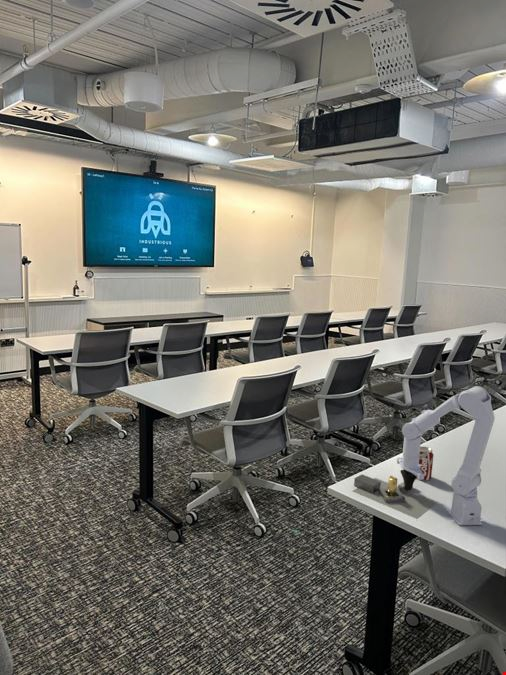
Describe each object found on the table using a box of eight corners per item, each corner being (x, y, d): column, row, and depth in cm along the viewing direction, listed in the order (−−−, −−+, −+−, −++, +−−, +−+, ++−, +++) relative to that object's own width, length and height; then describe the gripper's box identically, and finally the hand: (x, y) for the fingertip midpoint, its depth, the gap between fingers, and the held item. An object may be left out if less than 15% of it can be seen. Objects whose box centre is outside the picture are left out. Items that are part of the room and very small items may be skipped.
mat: (438, 503, 171) (438, 502, 171) (416, 520, 160) (417, 518, 160) (375, 478, 188) (375, 477, 188) (352, 492, 177) (352, 491, 177)
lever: (414, 487, 181) (414, 479, 181) (402, 493, 176) (403, 485, 176) (408, 484, 183) (408, 476, 182) (397, 490, 178) (397, 482, 177)
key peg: (397, 500, 171) (399, 482, 170) (389, 500, 171) (390, 481, 170) (393, 494, 176) (395, 475, 175) (385, 493, 176) (387, 475, 175)
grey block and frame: (404, 502, 170) (405, 494, 170) (364, 502, 169) (364, 494, 169) (389, 481, 186) (389, 474, 185) (351, 481, 184) (352, 474, 184)
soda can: (409, 475, 193) (411, 446, 190) (423, 473, 195) (425, 445, 193) (420, 483, 186) (423, 453, 184) (434, 480, 189) (437, 451, 187)
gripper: (433, 461, 169) (429, 498, 171) (409, 445, 182) (406, 479, 185) (415, 463, 167) (411, 500, 169) (392, 447, 181) (390, 481, 183)
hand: (407, 489), depth 177 cm, fingers closed, pressing on lever
